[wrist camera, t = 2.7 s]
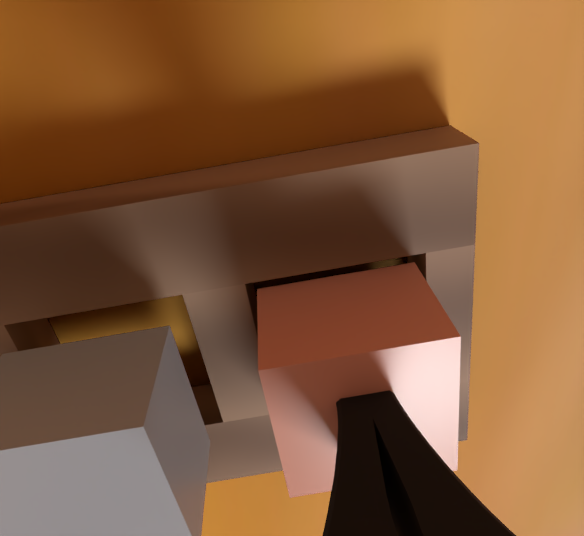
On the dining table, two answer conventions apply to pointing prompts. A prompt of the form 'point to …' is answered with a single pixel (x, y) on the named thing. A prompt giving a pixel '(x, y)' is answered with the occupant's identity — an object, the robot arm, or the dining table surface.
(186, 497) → the slate key
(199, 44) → the dining table surface
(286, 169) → the brown flat board
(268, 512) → the dining table surface
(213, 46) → the dining table surface
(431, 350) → the brick key
